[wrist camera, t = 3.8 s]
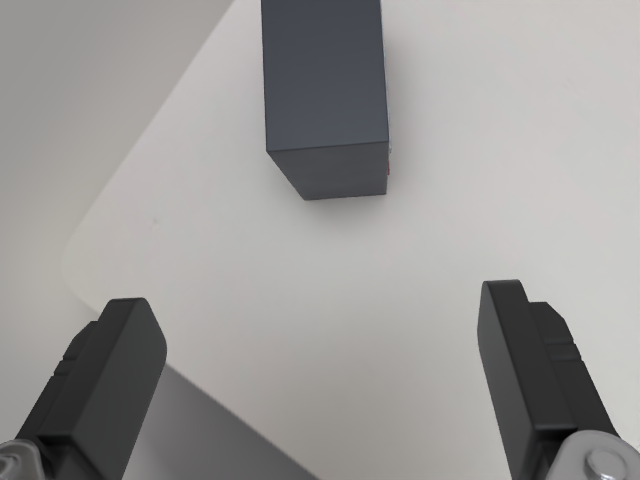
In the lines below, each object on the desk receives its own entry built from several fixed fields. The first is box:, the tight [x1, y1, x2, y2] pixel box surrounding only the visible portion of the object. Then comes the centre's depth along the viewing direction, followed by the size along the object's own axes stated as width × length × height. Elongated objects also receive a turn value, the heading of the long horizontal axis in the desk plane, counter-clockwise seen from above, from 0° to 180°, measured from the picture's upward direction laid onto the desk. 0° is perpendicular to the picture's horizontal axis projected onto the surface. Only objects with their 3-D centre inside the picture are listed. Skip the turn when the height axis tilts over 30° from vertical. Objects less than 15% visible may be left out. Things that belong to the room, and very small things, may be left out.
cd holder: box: [261, 0, 391, 200], centre depth 25 cm, size 10×5×10 cm, turn 3°
